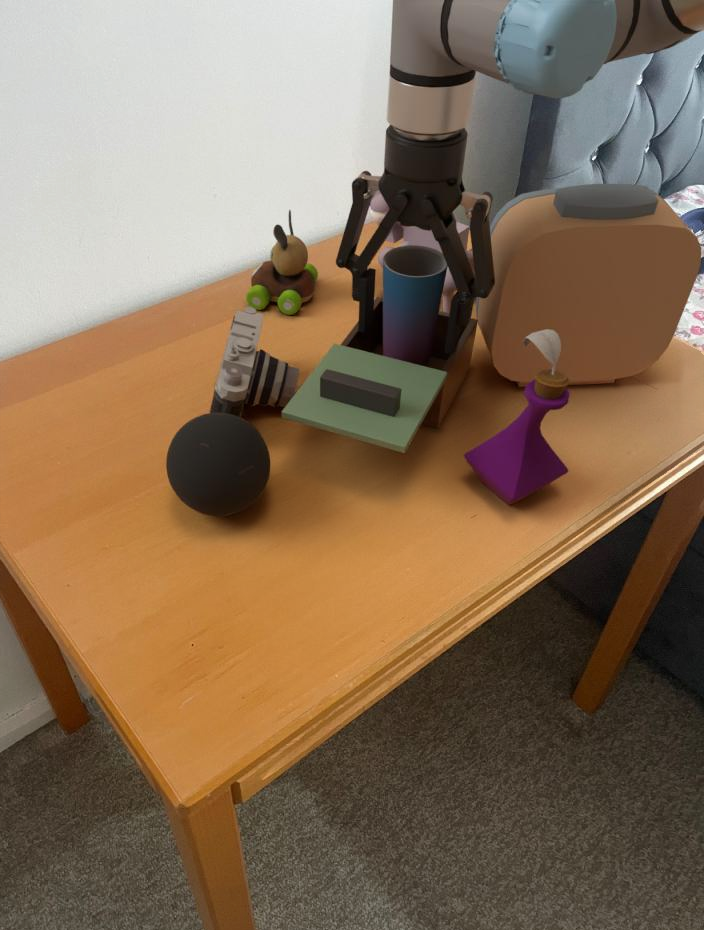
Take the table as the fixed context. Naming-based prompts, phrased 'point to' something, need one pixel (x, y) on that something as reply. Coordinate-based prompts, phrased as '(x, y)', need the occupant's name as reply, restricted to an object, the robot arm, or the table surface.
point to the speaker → (218, 464)
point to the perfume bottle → (525, 434)
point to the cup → (411, 301)
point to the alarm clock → (587, 281)
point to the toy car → (283, 275)
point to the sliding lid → (366, 397)
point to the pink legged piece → (419, 243)
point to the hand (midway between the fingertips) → (407, 336)
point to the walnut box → (439, 360)
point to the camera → (251, 370)
